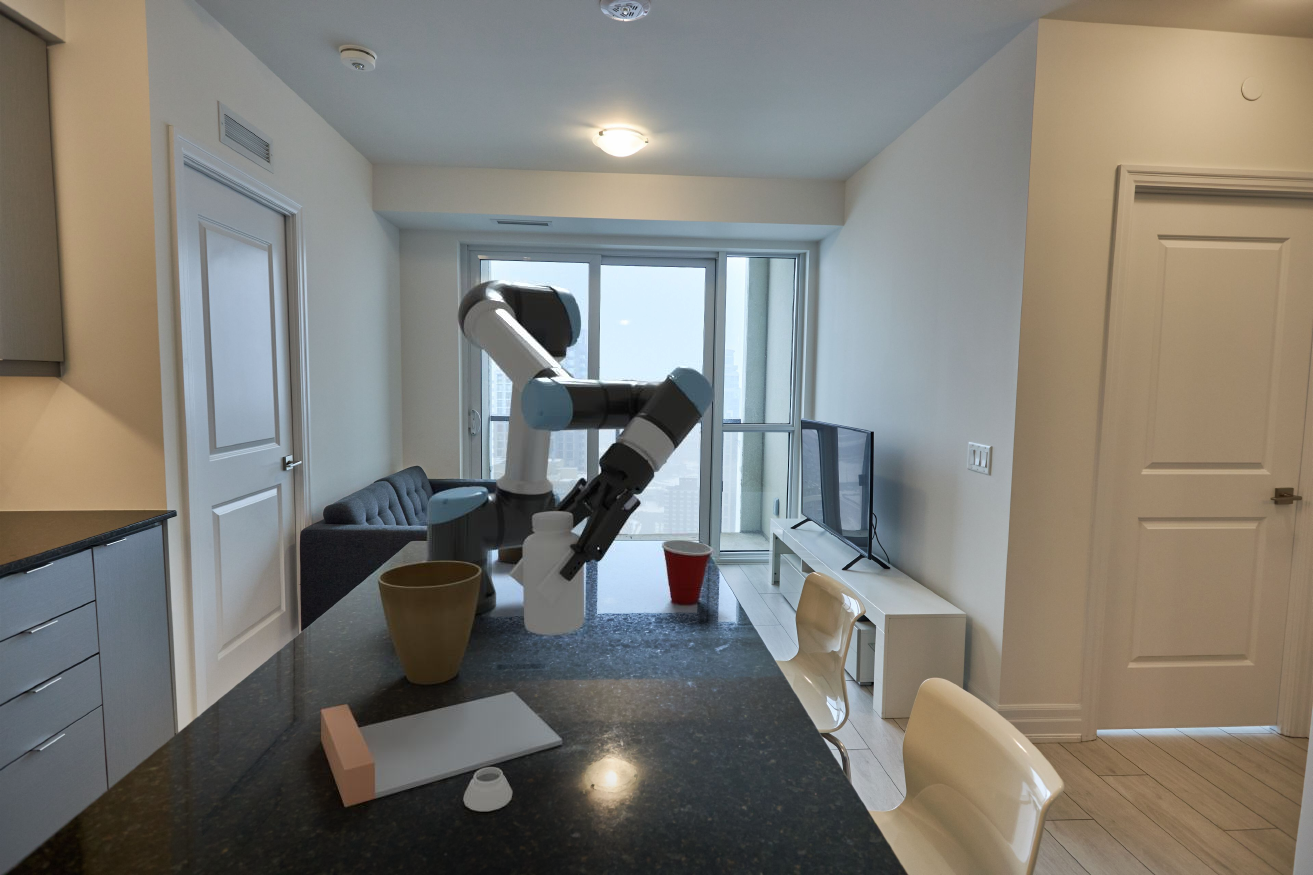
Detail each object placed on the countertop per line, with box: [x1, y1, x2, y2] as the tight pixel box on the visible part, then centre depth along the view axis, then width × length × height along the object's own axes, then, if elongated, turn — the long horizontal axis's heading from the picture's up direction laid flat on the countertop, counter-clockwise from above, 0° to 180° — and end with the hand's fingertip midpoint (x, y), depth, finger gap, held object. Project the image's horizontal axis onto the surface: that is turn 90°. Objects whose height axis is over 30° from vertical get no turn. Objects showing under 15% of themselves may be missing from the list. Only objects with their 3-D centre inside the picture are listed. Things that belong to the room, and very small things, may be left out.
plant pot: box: [377, 561, 482, 686], centre depth 106 cm, size 15×15×16 cm
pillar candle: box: [497, 547, 523, 564], centre depth 178 cm, size 10×10×15 cm
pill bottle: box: [522, 511, 585, 636], centre depth 92 cm, size 8×8×15 cm
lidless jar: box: [463, 766, 513, 812], centre depth 75 cm, size 5×3×5 cm
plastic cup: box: [661, 539, 714, 606], centre depth 146 cm, size 11×11×12 cm
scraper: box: [320, 691, 563, 808], centre depth 86 cm, size 16×25×4 cm, turn 124°
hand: (529, 588), depth 90 cm, fingers closed on pill bottle, 8 cm apart
